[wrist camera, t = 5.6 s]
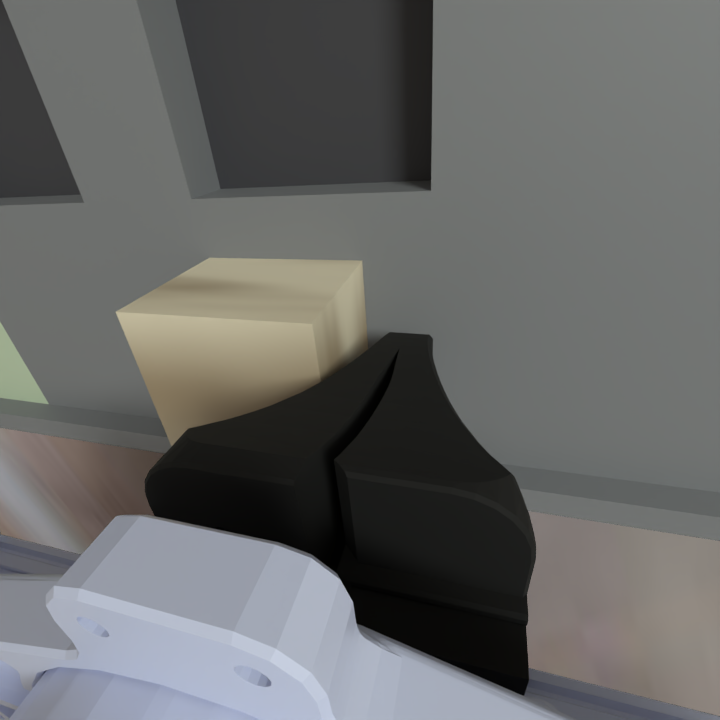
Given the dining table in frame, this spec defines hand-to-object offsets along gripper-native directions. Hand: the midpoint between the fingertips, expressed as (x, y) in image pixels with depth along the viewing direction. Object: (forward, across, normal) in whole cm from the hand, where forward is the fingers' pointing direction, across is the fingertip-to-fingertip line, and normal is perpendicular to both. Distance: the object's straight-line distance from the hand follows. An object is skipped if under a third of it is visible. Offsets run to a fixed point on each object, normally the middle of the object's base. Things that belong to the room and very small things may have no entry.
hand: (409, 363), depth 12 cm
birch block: (+1, +4, 0) cm, 4 cm away
